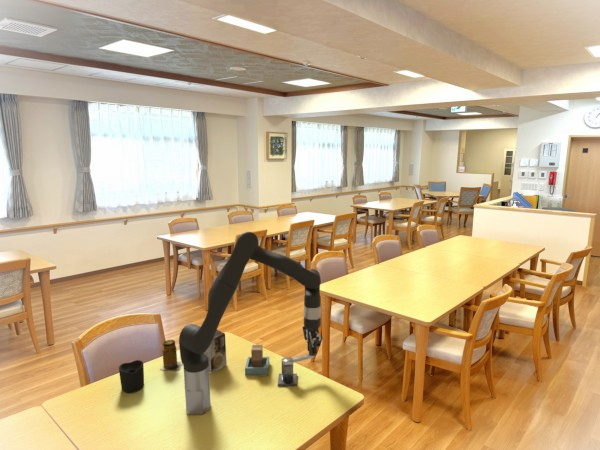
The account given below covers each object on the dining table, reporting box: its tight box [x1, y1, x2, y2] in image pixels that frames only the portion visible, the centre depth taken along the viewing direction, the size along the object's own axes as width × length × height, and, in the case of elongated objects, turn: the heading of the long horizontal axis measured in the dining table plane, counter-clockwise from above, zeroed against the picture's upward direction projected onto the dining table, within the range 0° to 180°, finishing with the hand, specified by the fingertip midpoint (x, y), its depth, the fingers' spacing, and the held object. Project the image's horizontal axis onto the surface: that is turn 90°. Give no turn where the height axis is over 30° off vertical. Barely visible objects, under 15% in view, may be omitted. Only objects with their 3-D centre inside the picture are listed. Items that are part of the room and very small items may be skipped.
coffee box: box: [204, 329, 227, 374], centre depth 179 cm, size 9×6×16 cm
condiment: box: [160, 339, 183, 371], centre depth 180 cm, size 7×8×12 cm
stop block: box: [250, 344, 264, 367], centre depth 177 cm, size 4×4×10 cm
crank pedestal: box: [277, 364, 298, 387], centre depth 176 cm, size 24×8×8 cm, turn 0°
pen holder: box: [118, 359, 145, 394], centre depth 164 cm, size 9×9×10 cm
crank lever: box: [281, 341, 317, 366], centre depth 169 cm, size 16×5×7 cm, turn 115°
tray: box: [244, 356, 270, 377], centre depth 178 cm, size 10×10×4 cm
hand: (312, 352), depth 172 cm, fingers closed on crank lever, 3 cm apart
